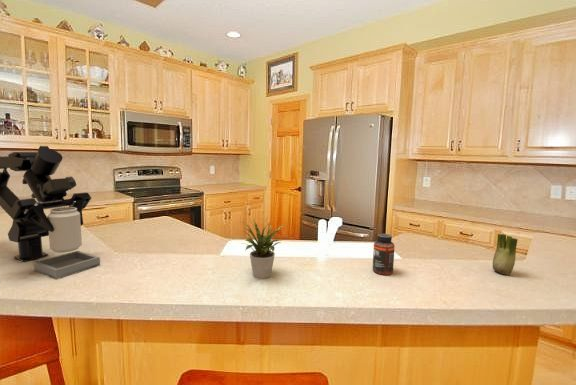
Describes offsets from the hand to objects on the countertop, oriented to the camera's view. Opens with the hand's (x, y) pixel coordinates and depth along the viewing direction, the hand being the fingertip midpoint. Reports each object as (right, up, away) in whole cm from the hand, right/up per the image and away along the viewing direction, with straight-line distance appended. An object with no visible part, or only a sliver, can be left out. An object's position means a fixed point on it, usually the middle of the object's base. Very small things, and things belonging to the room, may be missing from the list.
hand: (67, 227), depth 86 cm
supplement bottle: (+91, -14, +5) cm, 92 cm away
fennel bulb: (+128, -15, +6) cm, 129 cm away
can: (-2, -7, +1) cm, 7 cm away
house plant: (+54, -14, 0) cm, 56 cm away
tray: (-2, -12, +2) cm, 12 cm away
